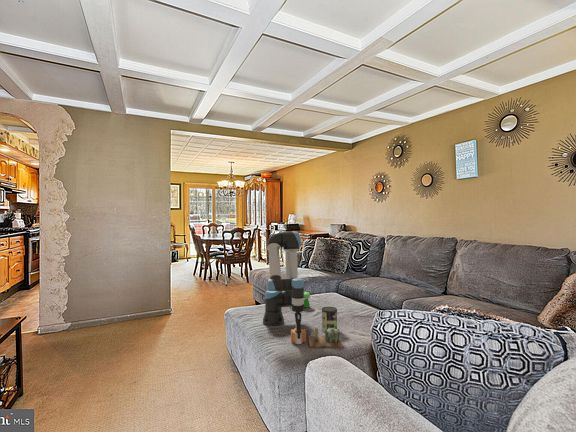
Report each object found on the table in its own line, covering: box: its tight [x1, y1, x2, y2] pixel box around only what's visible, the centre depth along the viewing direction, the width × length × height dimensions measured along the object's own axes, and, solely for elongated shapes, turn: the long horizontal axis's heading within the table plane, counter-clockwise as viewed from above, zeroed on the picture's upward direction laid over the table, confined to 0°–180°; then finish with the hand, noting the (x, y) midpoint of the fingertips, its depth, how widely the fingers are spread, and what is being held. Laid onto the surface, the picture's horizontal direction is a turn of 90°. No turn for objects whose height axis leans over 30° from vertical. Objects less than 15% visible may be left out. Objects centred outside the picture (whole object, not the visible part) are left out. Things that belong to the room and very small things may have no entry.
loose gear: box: [290, 327, 307, 345], centre depth 185 cm, size 9×9×6 cm
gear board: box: [307, 327, 344, 349], centre depth 182 cm, size 19×14×8 cm
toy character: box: [289, 291, 311, 309], centre depth 249 cm, size 10×18×13 cm, turn 86°
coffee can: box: [321, 306, 338, 333], centre depth 201 cm, size 10×10×14 cm
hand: (298, 338), depth 185 cm, fingers open, 13 cm apart
